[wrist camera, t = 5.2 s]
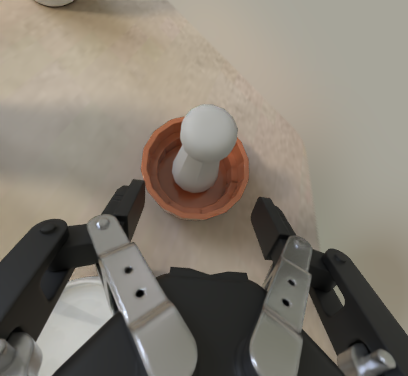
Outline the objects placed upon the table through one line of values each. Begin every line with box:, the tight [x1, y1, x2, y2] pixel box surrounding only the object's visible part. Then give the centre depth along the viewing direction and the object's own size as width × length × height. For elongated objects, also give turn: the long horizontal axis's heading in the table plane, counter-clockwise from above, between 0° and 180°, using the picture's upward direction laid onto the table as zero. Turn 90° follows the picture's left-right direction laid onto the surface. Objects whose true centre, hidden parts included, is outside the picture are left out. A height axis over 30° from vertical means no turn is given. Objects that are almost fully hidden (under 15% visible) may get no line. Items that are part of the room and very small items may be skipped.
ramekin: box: [36, 276, 112, 376], centre depth 18 cm, size 11×11×5 cm
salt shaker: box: [172, 105, 238, 193], centre depth 19 cm, size 6×6×13 cm
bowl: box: [141, 117, 249, 221], centre depth 23 cm, size 12×12×5 cm
